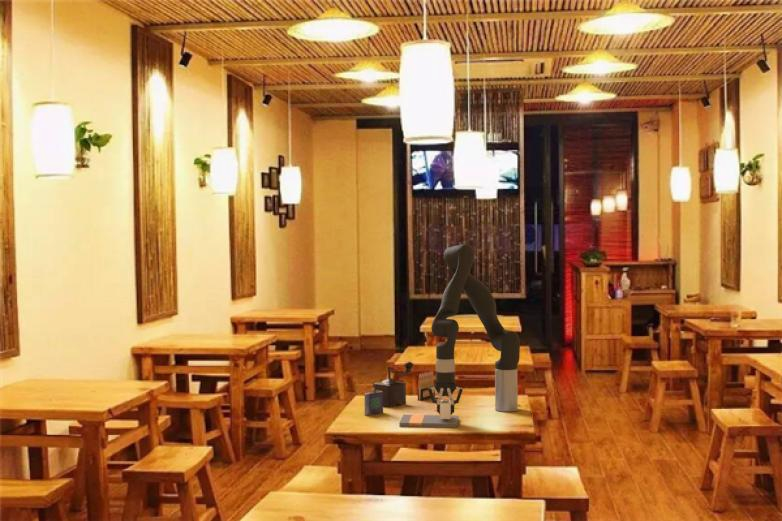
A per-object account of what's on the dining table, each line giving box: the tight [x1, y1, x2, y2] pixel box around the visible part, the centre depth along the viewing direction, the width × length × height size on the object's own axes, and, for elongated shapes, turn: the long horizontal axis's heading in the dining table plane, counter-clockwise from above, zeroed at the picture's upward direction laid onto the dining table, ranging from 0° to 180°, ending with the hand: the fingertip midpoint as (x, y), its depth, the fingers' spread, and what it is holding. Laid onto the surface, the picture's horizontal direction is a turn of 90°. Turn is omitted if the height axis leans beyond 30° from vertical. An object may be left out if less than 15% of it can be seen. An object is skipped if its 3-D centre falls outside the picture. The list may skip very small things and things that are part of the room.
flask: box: [363, 387, 384, 417], centre depth 383 cm, size 9×3×11 cm, turn 129°
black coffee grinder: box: [372, 361, 414, 409], centre depth 404 cm, size 16×11×18 cm
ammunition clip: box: [417, 370, 436, 402], centre depth 414 cm, size 11×2×12 cm, turn 142°
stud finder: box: [439, 399, 452, 419], centre depth 364 cm, size 4×8×6 cm, turn 174°
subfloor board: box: [398, 414, 460, 429], centre depth 365 cm, size 22×15×2 cm
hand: (445, 413), depth 364 cm, fingers closed on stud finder, 4 cm apart
